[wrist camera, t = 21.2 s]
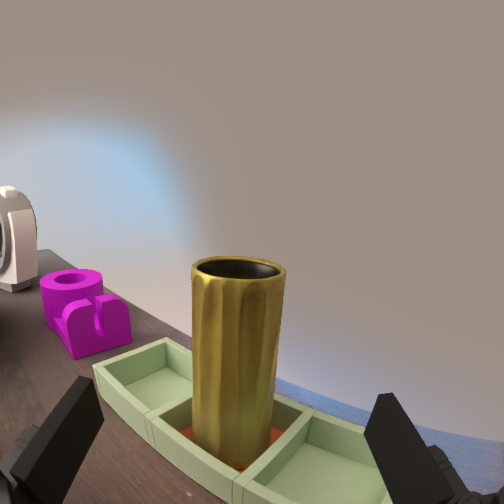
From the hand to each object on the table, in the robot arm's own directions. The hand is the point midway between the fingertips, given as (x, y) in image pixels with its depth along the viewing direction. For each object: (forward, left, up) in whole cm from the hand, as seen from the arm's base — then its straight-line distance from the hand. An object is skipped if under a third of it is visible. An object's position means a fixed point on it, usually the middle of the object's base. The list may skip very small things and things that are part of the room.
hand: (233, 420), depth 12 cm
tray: (0, -6, -10) cm, 11 cm away
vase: (0, -6, -9) cm, 11 cm away
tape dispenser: (+22, -24, -10) cm, 34 cm away
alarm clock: (+48, -34, -10) cm, 60 cm away
